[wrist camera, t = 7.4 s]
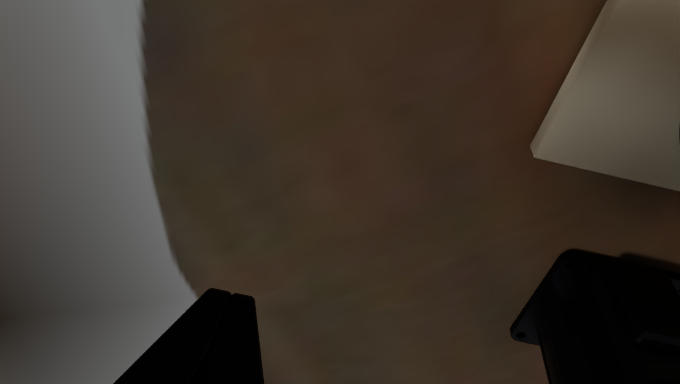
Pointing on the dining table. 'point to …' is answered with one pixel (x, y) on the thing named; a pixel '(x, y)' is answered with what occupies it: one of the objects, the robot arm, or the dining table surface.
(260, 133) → the dining table surface
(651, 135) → the bench
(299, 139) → the dining table surface
